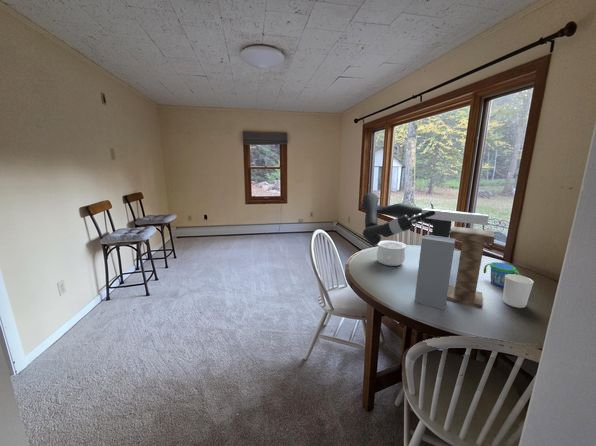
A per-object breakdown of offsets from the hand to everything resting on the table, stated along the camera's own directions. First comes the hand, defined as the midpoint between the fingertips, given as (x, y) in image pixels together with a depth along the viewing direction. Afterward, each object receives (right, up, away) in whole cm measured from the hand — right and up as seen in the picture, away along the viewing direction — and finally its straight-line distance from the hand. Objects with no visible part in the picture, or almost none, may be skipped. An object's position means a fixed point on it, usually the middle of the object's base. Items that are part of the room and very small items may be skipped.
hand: (434, 211), depth 125 cm
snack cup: (+41, -38, +14) cm, 58 cm away
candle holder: (+33, -42, -5) cm, 54 cm away
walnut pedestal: (+13, -40, 0) cm, 42 cm away
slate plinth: (-5, -41, -5) cm, 42 cm away
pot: (-7, -31, +42) cm, 53 cm away
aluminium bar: (+6, -4, -3) cm, 8 cm away
